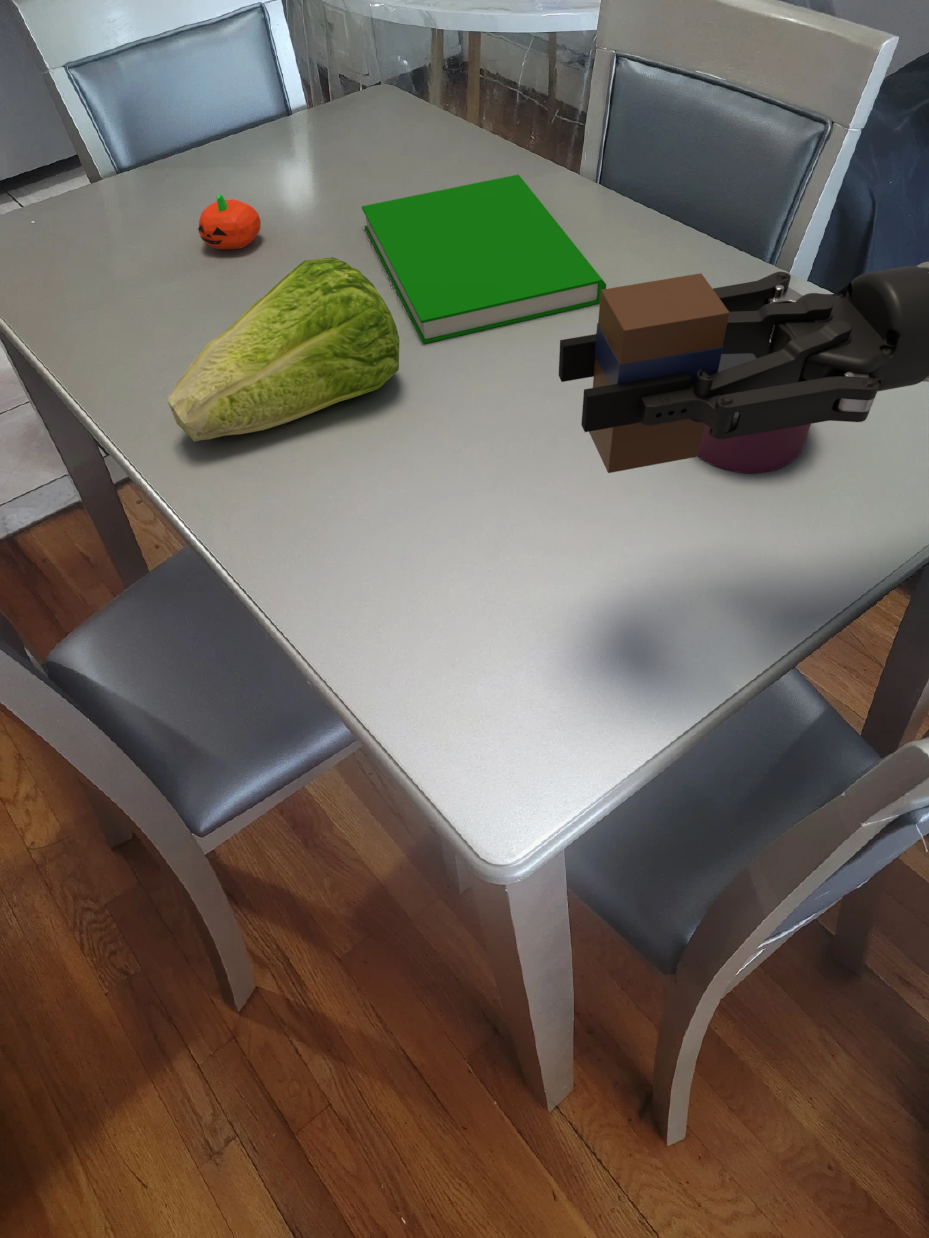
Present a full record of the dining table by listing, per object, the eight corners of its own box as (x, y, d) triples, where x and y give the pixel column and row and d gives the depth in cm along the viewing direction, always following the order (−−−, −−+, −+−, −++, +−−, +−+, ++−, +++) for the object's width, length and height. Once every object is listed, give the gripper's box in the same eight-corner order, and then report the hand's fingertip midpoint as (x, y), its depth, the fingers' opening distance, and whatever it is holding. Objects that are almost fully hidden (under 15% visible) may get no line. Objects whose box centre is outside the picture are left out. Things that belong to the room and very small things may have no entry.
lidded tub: (833, 432, 86) (852, 379, 81) (755, 494, 82) (771, 441, 77) (730, 377, 93) (743, 325, 88) (652, 432, 88) (661, 380, 83)
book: (423, 344, 99) (421, 320, 97) (364, 228, 116) (361, 206, 113) (604, 302, 102) (606, 278, 100) (522, 196, 119) (522, 173, 117)
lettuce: (232, 505, 88) (183, 439, 97) (427, 383, 93) (363, 330, 101) (163, 397, 77) (114, 333, 86) (388, 264, 82) (320, 217, 90)
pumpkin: (265, 254, 113) (253, 205, 108) (203, 261, 112) (188, 212, 107) (265, 227, 117) (254, 179, 112) (206, 233, 117) (192, 185, 112)
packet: (675, 415, 61) (702, 272, 53) (699, 457, 59) (731, 312, 50) (587, 431, 61) (599, 289, 52) (607, 474, 58) (623, 331, 49)
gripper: (967, 456, 54) (610, 524, 52) (836, 304, 65) (535, 355, 63) (1023, 354, 48) (622, 426, 46) (868, 205, 59) (537, 258, 57)
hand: (573, 385), depth 55 cm, fingers closed on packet, 4 cm apart
